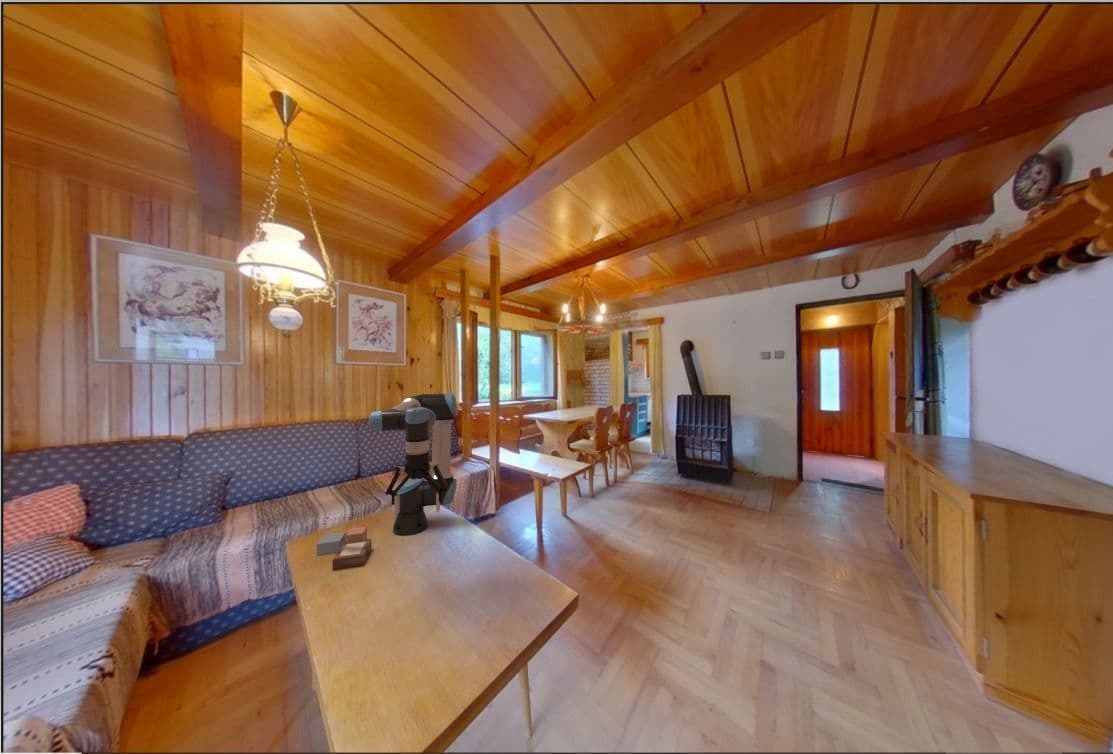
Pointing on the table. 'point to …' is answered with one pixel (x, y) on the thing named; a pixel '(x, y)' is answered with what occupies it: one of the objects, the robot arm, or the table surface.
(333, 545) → the slate block
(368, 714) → the table surface
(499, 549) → the table surface
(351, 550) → the plinth
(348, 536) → the terracotta cube
